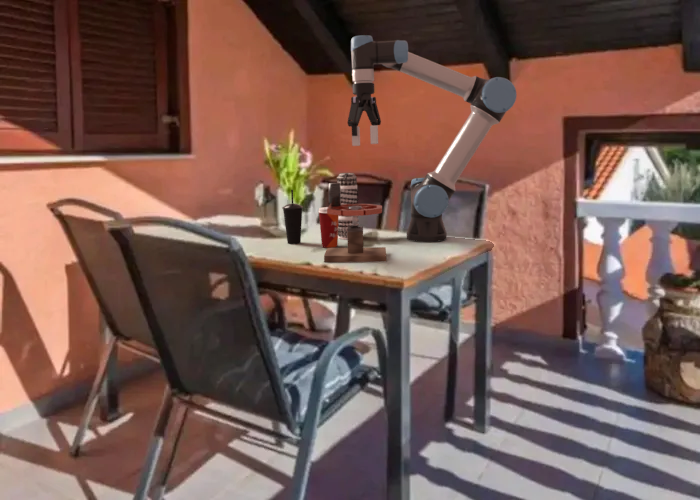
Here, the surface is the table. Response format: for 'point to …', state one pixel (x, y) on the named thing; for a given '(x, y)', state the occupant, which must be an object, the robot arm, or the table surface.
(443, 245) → the table surface
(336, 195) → the handwheel
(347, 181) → the decorative candle
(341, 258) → the brown block
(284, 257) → the table surface
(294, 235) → the drinking cup
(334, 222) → the paper cup
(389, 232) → the table surface
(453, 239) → the table surface
